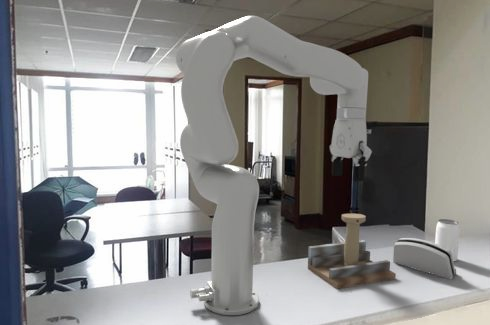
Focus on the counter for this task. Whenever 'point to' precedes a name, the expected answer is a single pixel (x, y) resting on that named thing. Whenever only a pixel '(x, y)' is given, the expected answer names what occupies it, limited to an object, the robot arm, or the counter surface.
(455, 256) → the can
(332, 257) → the track
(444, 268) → the grey curved slotted block
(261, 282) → the counter surface
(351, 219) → the handle
